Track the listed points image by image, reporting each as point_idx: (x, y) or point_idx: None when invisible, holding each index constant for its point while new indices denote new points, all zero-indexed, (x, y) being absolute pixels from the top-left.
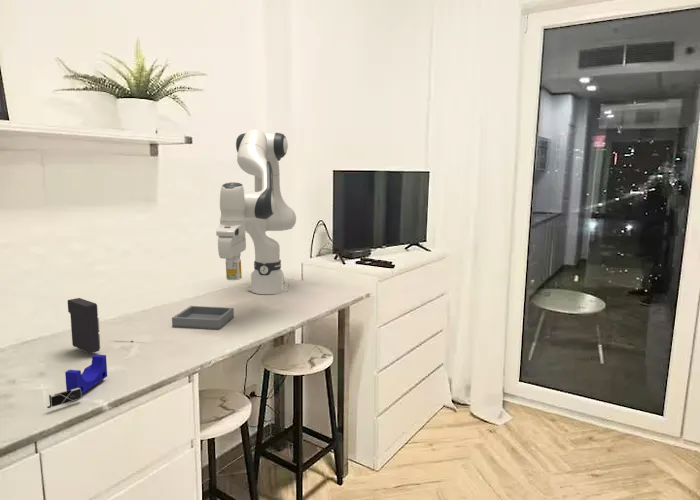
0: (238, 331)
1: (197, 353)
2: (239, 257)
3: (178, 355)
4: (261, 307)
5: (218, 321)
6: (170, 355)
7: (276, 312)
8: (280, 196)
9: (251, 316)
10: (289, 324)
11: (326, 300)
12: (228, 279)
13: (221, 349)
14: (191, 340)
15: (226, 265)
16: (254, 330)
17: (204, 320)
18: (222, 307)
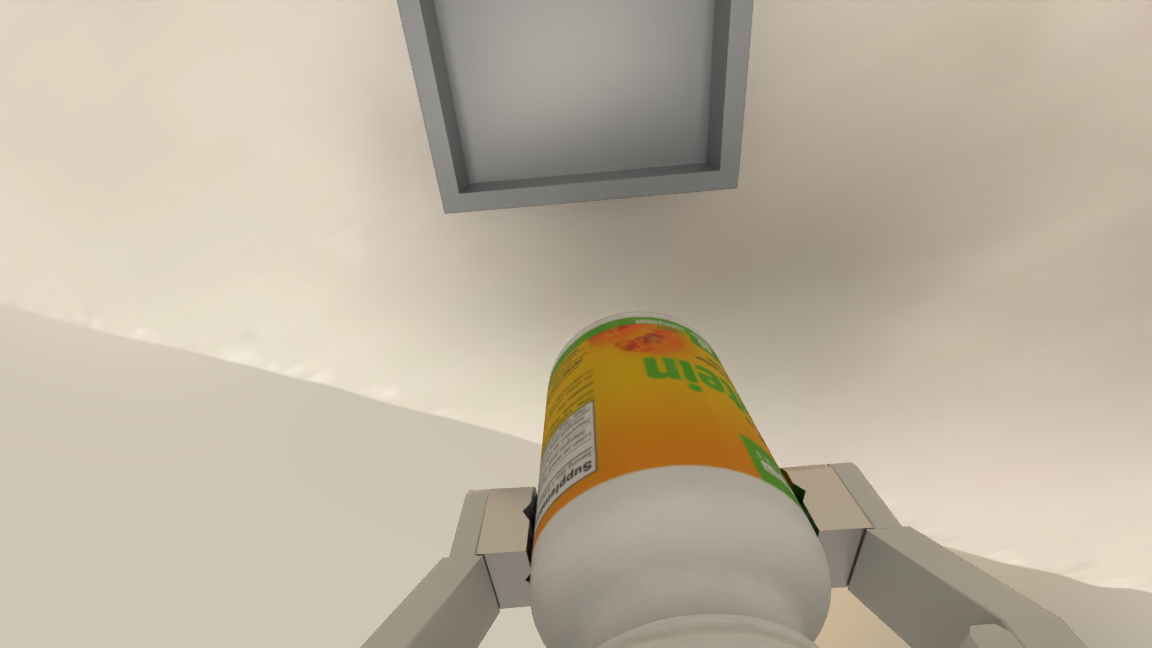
0: (475, 303)
1: (123, 254)
2: (907, 640)
3: (38, 180)
4: (933, 259)
5: (446, 210)
6: (5, 139)
7: (822, 363)
8: None
9: (738, 271)
10: None
11: (1031, 498)
12: (557, 357)
13: (230, 327)
14: (239, 131)
15: (567, 461)
16: (514, 362)
17: (424, 110)
18: (743, 97)
